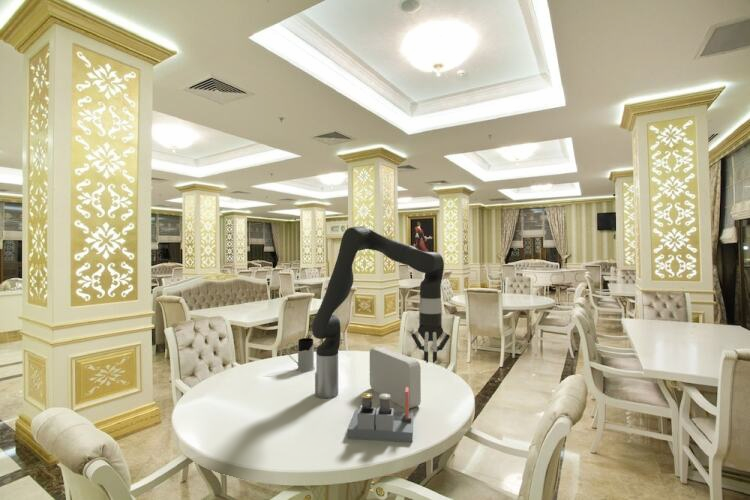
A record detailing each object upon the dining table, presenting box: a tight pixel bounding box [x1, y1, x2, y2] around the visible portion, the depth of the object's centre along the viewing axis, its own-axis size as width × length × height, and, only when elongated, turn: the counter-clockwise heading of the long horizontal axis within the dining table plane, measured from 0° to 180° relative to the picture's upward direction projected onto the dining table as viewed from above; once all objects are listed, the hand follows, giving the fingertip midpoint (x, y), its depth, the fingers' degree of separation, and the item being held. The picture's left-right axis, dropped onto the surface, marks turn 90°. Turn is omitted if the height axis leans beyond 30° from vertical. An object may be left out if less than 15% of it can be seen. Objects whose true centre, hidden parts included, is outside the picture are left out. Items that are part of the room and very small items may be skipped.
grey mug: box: [286, 337, 315, 373], centre depth 195 cm, size 9×14×15 cm, turn 89°
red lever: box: [402, 387, 412, 421], centre depth 129 cm, size 3×4×10 cm
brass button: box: [361, 392, 373, 413], centre depth 125 cm, size 4×4×5 cm
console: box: [346, 406, 414, 443], centre depth 129 cm, size 21×15×8 cm
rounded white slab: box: [369, 346, 422, 409], centre depth 158 cm, size 29×8×18 cm, turn 33°
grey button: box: [379, 394, 391, 413], centre depth 124 cm, size 4×4×5 cm
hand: (430, 361), depth 128 cm, fingers closed
